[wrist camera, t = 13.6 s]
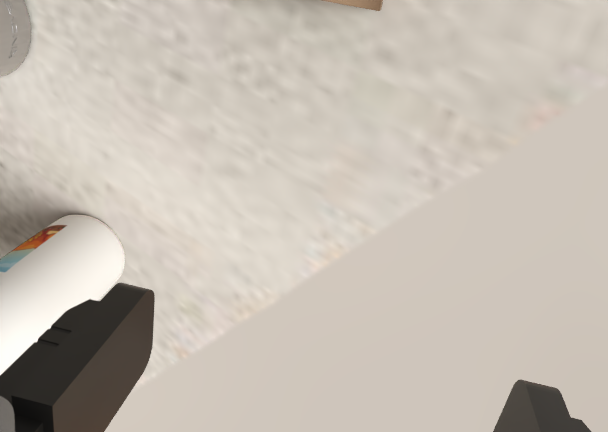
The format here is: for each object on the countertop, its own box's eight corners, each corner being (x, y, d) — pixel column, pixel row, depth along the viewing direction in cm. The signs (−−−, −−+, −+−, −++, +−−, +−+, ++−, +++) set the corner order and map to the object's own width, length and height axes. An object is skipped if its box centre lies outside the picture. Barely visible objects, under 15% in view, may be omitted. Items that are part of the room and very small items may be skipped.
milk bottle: (114, 208, 46) (-68, 351, 28) (137, 283, 49) (-14, 456, 31) (39, 214, 48) (-179, 353, 30) (65, 286, 51) (-118, 452, 33)
